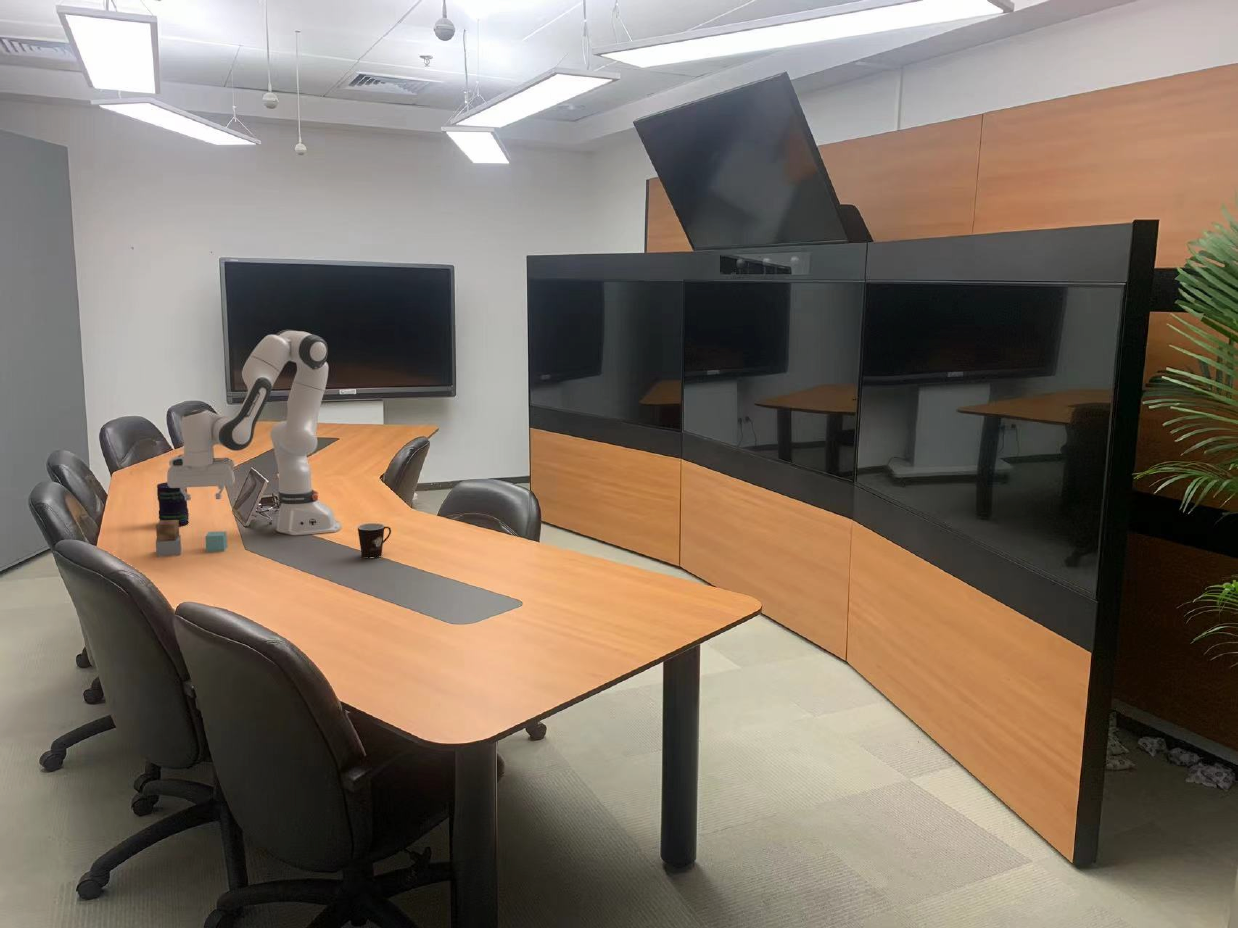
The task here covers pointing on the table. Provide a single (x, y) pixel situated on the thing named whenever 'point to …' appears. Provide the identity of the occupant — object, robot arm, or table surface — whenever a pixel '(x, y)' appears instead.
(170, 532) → the walnut cube
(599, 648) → the table surface
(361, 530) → the coffee mug
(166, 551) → the grey base block
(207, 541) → the teal cube
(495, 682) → the table surface
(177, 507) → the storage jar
